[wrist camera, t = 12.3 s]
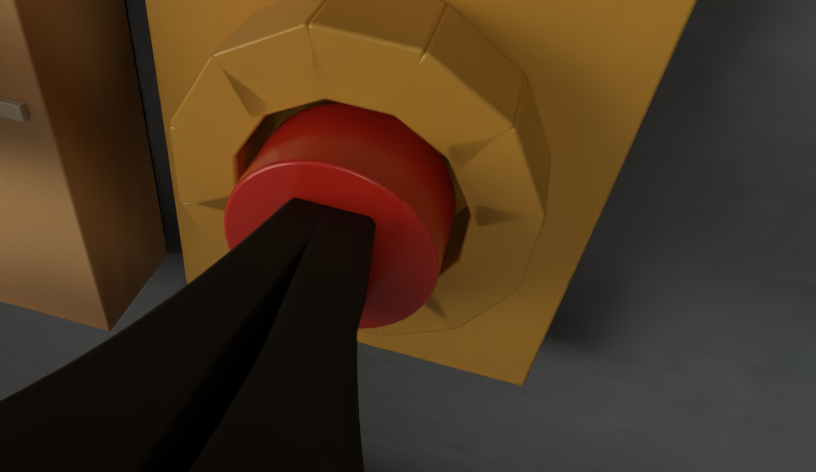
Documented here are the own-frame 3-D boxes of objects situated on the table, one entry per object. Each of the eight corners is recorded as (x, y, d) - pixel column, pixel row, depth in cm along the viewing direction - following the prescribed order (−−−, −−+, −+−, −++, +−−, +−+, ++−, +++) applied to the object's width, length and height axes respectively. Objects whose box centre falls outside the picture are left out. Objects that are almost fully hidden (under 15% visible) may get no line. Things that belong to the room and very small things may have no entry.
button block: (528, 336, 17) (516, 451, 15) (215, 254, 18) (153, 350, 16) (744, -173, 9) (799, -113, 7) (163, -288, 10) (11, -273, 7)
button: (438, 283, 13) (419, 351, 11) (264, 237, 13) (228, 299, 12) (475, 130, 10) (458, 196, 9) (261, 79, 11) (214, 135, 9)
